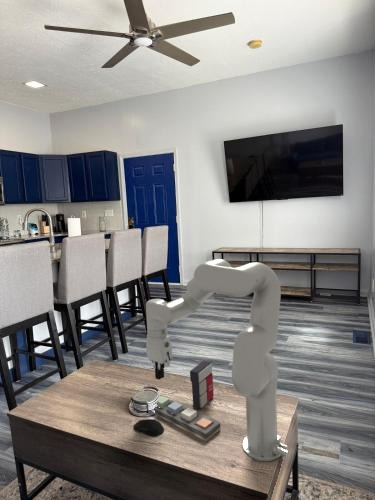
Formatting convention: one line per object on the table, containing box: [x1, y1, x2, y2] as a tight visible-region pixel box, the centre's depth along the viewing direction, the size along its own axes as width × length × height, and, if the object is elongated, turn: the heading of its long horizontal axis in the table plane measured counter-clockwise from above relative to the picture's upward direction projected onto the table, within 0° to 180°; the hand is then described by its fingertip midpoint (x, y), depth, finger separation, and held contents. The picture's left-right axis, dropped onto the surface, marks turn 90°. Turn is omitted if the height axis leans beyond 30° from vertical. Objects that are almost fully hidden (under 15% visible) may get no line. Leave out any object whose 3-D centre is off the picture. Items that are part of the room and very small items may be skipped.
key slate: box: [167, 401, 184, 415], centre depth 133 cm, size 4×4×2 cm
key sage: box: [157, 395, 170, 408], centre depth 138 cm, size 4×4×2 cm
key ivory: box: [181, 407, 198, 422], centre depth 128 cm, size 4×4×2 cm
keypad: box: [154, 398, 222, 442], centre depth 131 cm, size 29×8×3 cm, turn 48°
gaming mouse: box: [132, 418, 165, 437], centre depth 127 cm, size 6×15×4 cm, turn 63°
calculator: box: [189, 360, 214, 410], centre depth 142 cm, size 11×4×15 cm, turn 147°
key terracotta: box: [196, 418, 212, 430], centre depth 124 cm, size 4×4×2 cm
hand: (159, 377), depth 137 cm, fingers closed
